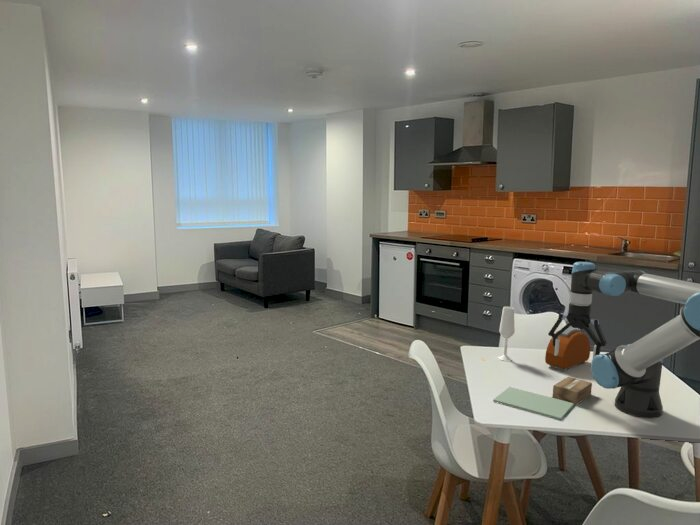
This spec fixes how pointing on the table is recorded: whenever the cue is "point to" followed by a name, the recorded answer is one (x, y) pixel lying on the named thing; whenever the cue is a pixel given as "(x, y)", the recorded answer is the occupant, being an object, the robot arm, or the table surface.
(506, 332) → the champagne flute
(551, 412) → the rubber mat
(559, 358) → the orange toaster
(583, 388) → the cardboard box
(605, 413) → the table surface
